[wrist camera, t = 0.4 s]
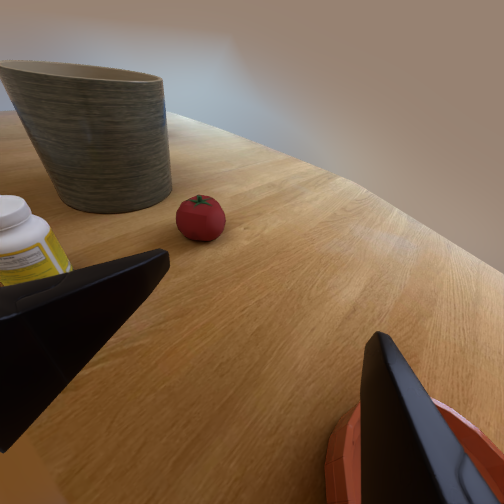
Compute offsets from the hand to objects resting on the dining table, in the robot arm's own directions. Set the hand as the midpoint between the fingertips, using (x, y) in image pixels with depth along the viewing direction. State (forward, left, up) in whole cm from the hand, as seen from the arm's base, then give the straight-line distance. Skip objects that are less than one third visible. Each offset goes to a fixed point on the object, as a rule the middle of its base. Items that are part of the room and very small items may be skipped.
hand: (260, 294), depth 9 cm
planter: (+24, +43, -17) cm, 52 cm away
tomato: (+21, +19, -17) cm, 32 cm away
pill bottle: (+1, +28, -17) cm, 32 cm away
